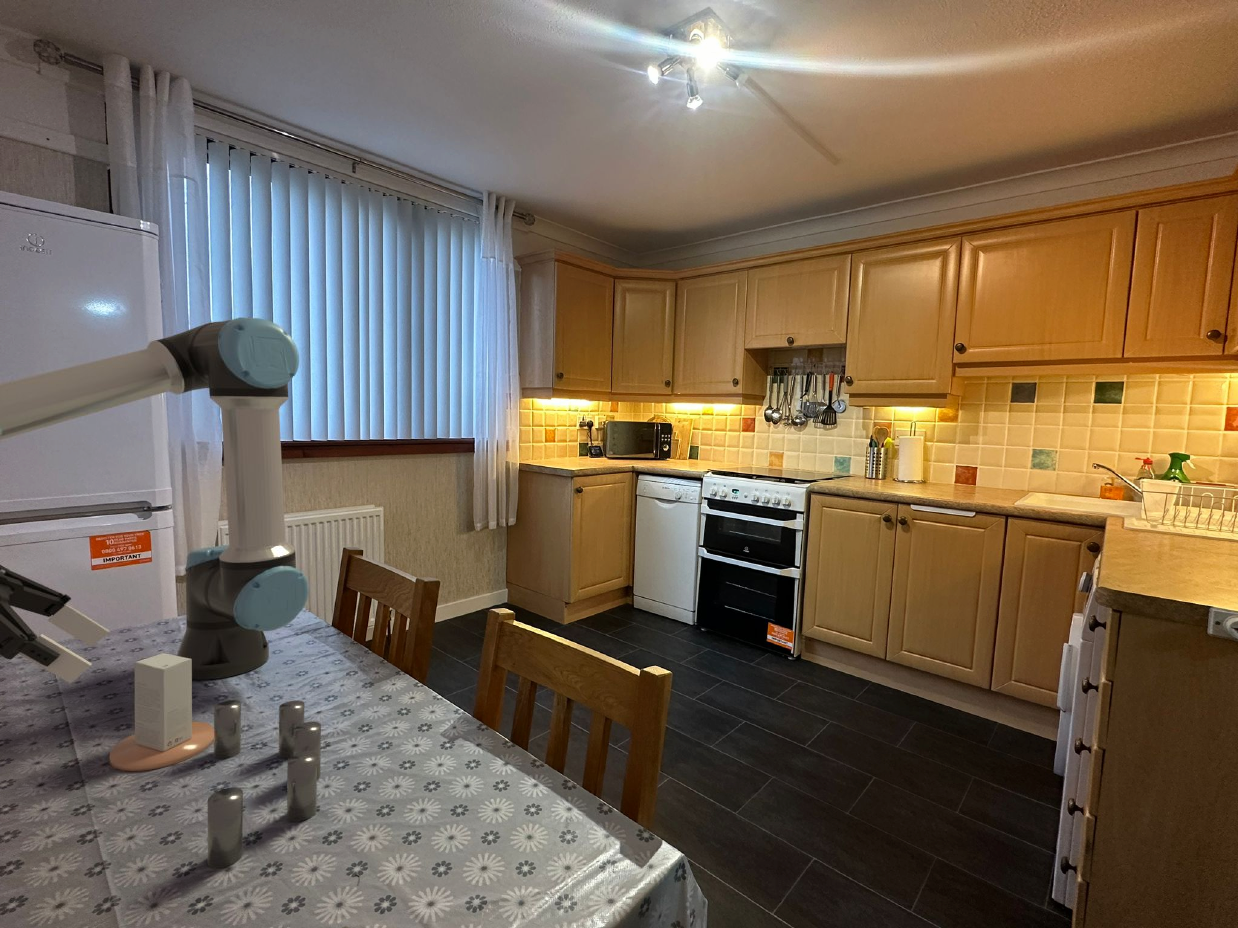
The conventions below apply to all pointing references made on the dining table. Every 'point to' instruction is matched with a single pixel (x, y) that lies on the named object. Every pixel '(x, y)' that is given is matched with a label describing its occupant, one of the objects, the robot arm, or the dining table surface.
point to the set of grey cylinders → (227, 804)
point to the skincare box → (163, 701)
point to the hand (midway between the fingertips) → (92, 655)
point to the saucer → (147, 758)
